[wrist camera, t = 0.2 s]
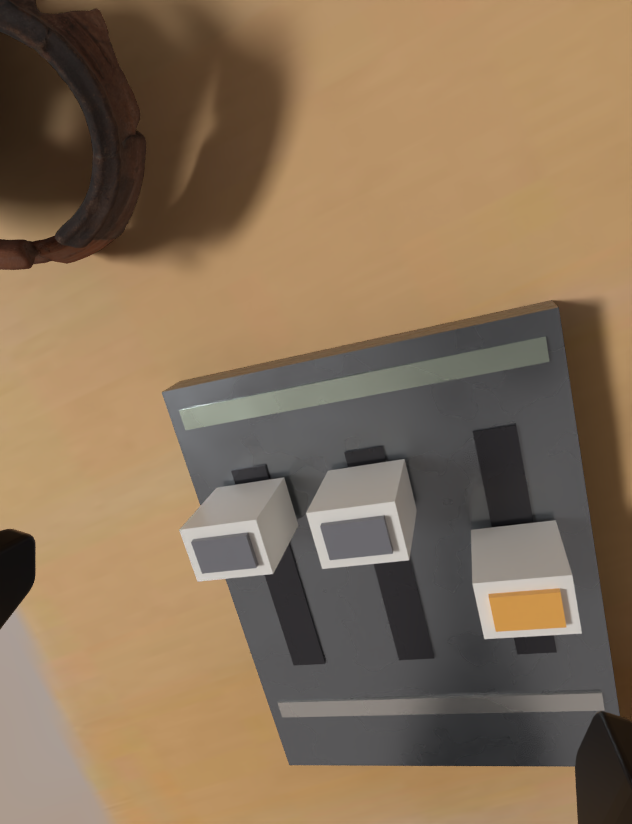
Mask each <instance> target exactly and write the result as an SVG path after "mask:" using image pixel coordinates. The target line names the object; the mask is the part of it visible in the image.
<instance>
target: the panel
mask: <svg viewBox="0 0 632 824" xmlns="http://www.w3.org/2000/svg"><path fill="white" fill-rule="evenodd" d="M162 395H163V397H164V400H165V403H166V406H167V409H168V412H169V415H170V418H171V421H172V424H173V427H174V430H175V433H176V435H177V438H178V441H179V444H180V447H181V450H182V453H183V456H184V459H185V462H186V465H187V468H188V470H189V473H190V476H191V479H192V482H193V485H194V488H195V491H196V494H197V497H198V500H199V503H200V505H202V504H203V502H204V501H205V500H206V499H207V498H208V497H209V496H210V495H211V493H212V492H213V491H214V490H215V489H216V488H218V487H224V486H231V485H237V484H244V483H251V482H257V481H264V480H270V479H277V478H283V477H284V478H285V482H286V485H287V488H288V492H289V495H290V499H291V502H292V505H293V509H294V512H295V515H296V519H297V522H298V527H297V529H296V531H295V533H294V535H293V537H292V539H291V541H290V543H289V544H288V546H287V548H286V550H285V552H284V554H283V556H282V558H281V560H280V562H279V564H278V566H277V568H276V569H275V571H274V573H273V574H268V575H258V576H248V577H238V578H228V579H226V581H227V584H228V587H229V590H230V593H231V596H232V599H233V602H234V605H235V608H236V611H237V613H238V616H239V619H240V622H241V625H242V628H243V631H244V634H245V637H246V640H247V643H248V646H249V649H250V651H251V654H252V657H253V660H254V663H255V666H256V669H257V672H258V675H259V678H260V681H261V684H262V686H263V689H264V692H265V695H266V698H267V701H268V704H269V707H270V710H271V713H272V716H273V719H274V722H275V724H276V727H277V730H278V733H279V736H280V739H281V742H282V745H283V748H284V751H285V754H286V757H287V759H288V762H289V765H383V766H575V761H576V755H577V752H578V749H579V747H580V745H581V742H582V740H583V738H584V736H585V734H586V732H587V729H588V727H589V725H590V723H591V721H592V718H593V717H594V715H595V714H596V713H597V712H599V711H605V712H608V713H611V714H614V715H618V716H620V713H619V707H618V700H617V693H616V687H615V680H614V673H613V667H612V660H611V653H610V647H609V640H608V633H607V627H606V620H605V613H604V607H603V600H602V593H601V587H600V580H599V573H598V567H597V560H596V553H595V547H594V540H593V533H592V527H591V520H590V513H589V507H588V500H587V493H586V486H585V480H584V473H583V466H582V460H581V453H580V446H579V440H578V433H577V426H576V420H575V413H574V406H573V400H572V393H571V386H570V380H569V373H568V366H567V360H566V353H565V346H564V340H563V333H562V326H561V320H560V313H559V307H558V306H557V305H556V304H555V303H554V302H553V301H552V300H551V301H546V302H542V303H537V304H533V305H528V306H523V307H519V308H514V309H510V310H505V311H501V312H496V313H491V314H487V315H482V316H478V317H473V318H468V319H464V320H459V321H455V322H450V323H445V324H441V325H436V326H432V327H427V328H423V329H418V330H413V331H409V332H404V333H400V334H395V335H390V336H386V337H381V338H377V339H372V340H367V341H363V342H358V343H354V344H349V345H345V346H340V347H335V348H331V349H326V350H322V351H317V352H312V353H308V354H303V355H299V356H294V357H289V358H285V359H280V360H276V361H271V362H266V363H262V364H257V365H253V366H248V367H244V368H239V369H234V370H230V371H225V372H221V373H216V374H211V375H207V376H202V377H198V378H193V379H188V380H184V381H179V382H178V383H176V384H174V385H173V386H171V387H170V388H168V389H166V390H165V391H163V392H162ZM401 459H405V463H406V467H407V471H408V475H409V480H410V484H411V488H412V492H413V497H414V501H415V505H416V509H417V512H416V519H415V525H414V532H413V539H412V545H411V552H410V558H409V560H407V561H397V562H387V563H377V564H367V565H357V566H347V567H337V568H327V569H322V566H321V563H320V560H319V556H318V553H317V549H316V546H315V542H314V539H313V535H312V532H311V529H310V525H309V522H308V518H307V515H306V512H307V510H308V508H309V506H310V504H311V502H312V501H313V499H314V497H315V495H316V493H317V491H318V489H319V487H320V485H321V483H322V481H323V479H324V477H325V475H326V473H327V471H329V470H336V469H342V468H349V467H355V466H362V465H368V464H375V463H381V462H388V461H394V460H401ZM553 520H556V523H557V526H558V529H559V533H560V536H561V539H562V542H563V546H564V549H565V552H566V556H567V559H568V562H569V566H570V569H571V572H572V576H573V582H574V588H575V594H576V600H577V607H578V613H579V619H580V625H581V631H582V634H565V635H547V636H530V637H513V638H495V639H484V635H483V631H482V626H481V621H480V617H479V612H478V607H477V603H476V598H475V594H474V589H473V584H472V553H471V530H473V529H482V528H491V527H500V526H509V525H518V524H527V523H536V522H545V521H553Z"/></svg>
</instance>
